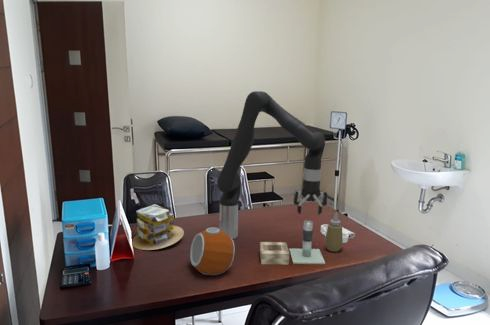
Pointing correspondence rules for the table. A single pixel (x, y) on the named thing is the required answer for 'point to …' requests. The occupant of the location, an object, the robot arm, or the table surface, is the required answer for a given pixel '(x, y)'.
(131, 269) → the table surface
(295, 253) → the sage mat
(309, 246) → the steel peg
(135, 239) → the package stack on board
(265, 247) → the eye block
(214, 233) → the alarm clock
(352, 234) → the white brass knuckles
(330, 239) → the squeeze bottle
